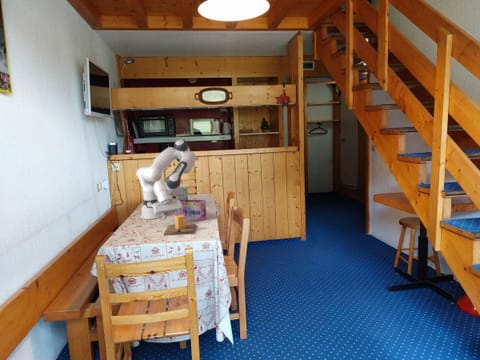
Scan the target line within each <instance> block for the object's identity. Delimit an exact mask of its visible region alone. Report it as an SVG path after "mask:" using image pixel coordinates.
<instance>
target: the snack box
mask: <svg viewBox="0 0 480 360" xmlns="http://www.w3.org/2000/svg"><path fill="white" fill-rule="evenodd" d="M188 191H189V190H188V187H185V186H182V187H180V193H179V194H178V195H177V197H178V200H189V194H188Z"/></svg>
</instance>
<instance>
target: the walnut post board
mask: <svg viewBox="0 0 480 360" xmlns="http://www.w3.org/2000/svg"><path fill="white" fill-rule="evenodd" d="M185 224H186V223H185ZM196 227H197V223H187V224H186V228H185V229H176V228H175V224H169V225H168V227H166V229H165V231H164V232H163V236H177V235H178V236H179V235H193V234H194V232H195V231H196V230H195V229H196Z"/></svg>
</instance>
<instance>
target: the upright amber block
mask: <svg viewBox="0 0 480 360" xmlns="http://www.w3.org/2000/svg"><path fill="white" fill-rule="evenodd" d="M174 225H175V228H176V229H185V228H186V220H185V216H183V215H178V216H175V215H174Z"/></svg>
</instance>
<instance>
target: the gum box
mask: <svg viewBox="0 0 480 360" xmlns="http://www.w3.org/2000/svg"><path fill="white" fill-rule="evenodd" d="M180 202H181V203H182V205H183V209H182V210H181V211H179V215H183V216H185V221H198V220H199V221H205V220H206V219H207V209H206V207H207V206H206V200H203V199H188V200H180ZM177 213H178V212H174V216H176V214H177Z"/></svg>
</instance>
